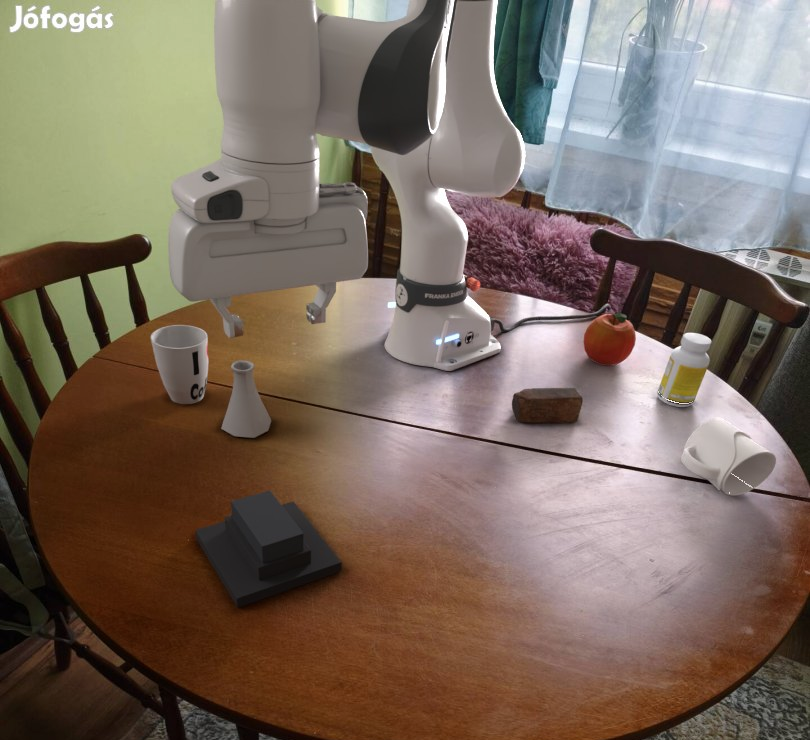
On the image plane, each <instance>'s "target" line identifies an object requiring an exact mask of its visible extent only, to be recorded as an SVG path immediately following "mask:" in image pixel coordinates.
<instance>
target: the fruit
mask: <svg viewBox="0 0 810 740" xmlns="http://www.w3.org/2000/svg"><path fill="white" fill-rule="evenodd" d="M636 340H637V336H636V330H635V328H634V325H633V323H632V322H631V321H630V320H627V315H626V314H624V313H621V312H619V313H618V312H617V311H616V312H614V313H612V314H611V313H605V314H600V315H598V317H597V316H596V318H595V319H593V320H592V322H591V323H590V324H589V325H588V327H587V328H586V330H585V332H584V335H583V342H582V343H583V347H584V348H583V349H584V352H585V354H586V356H587V357H588V358H589V359H590V360H591V361H593V362H594V363H596V364H599V365H602V366H614V365H619V364H620V363H622V362H624V361H625V360H627V359H628V357H629V356H630V355H631V354H632V352H633V350H634V348H635V345H636Z"/></svg>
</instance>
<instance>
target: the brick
mask: <svg viewBox="0 0 810 740" xmlns="http://www.w3.org/2000/svg"><path fill="white" fill-rule="evenodd" d="M583 403H584V397H583V396H582V395H581V393H580V392H579V390H578V389H577V388H576V387H537V388H536V387H535V388H534V387H533V388H523V389H522V390H520V391H518V392H515V393H514V394H513V395H512V399H511V409H512V414H513V416H514V419H515V421H516V422H519V423H523V424H567V423H576V422H578V420H579V418H580V413H581V411H582V406H583Z"/></svg>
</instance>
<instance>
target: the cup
mask: <svg viewBox="0 0 810 740" xmlns="http://www.w3.org/2000/svg"><path fill="white" fill-rule="evenodd" d="M208 337H209V336H208V333H207V332H206V331H205V330H203V328H200V327H197V326H193V325H186V324H172V325H167V326H163V327H160V328H157V329H156V330H154V331H153V332H152V333H151V334H150V342H151V346H152V350H153V355H154V359H155V364H156V367H157V370H158V372H159V375H160V376H159V377H160V380H161V381H162V385H163V386H164V388H165V390H166V392H167V394H168V396H169V399H170V400H171V401H172V402H173V403H176V404H179V405H193V404H197V403H199V402H201V401H202V400H203V399H204V396H205V392H206V387H207V383H208V375H209V374H208V373H209V340H208V339H209V338H208Z"/></svg>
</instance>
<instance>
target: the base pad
mask: <svg viewBox="0 0 810 740" xmlns="http://www.w3.org/2000/svg"><path fill="white" fill-rule="evenodd" d="M281 505H282V506H283V508H284V509H285V510H286V512H287V513H288V514H289V515H290V517H291V518H292V519H293V521H294V522H295V523H296V524H297V526H298V527H299V528H300V530H301V531H302V532H303V540H304V542H305V543H306V544H307V546H308V547H309V548H310V550H311V563H310V564H307V565H304V566H301V567H298V568H295V569H292V570H289V571H286V572H283V573H280V574H277V575H274V576H271V577H269V578H266V579H263V580H259V579H258V578H257V576H256V575H255V573H254V572H253V570H252V569H251V567H250V566H249V564H248V563H247V561H246V560H245V558H244V557H243V555H242V553H241V552H240V550H239V549H238V547H237V546H236V544H235V543H234V541H233V540H232V538H231V537H230V535H229V534H228V532H227V531H226V527H225V520H224V521H221V522H218V523H214V524H210V525H207V526H204V527H200V528H197V529H195V530H194V532H195V539H196V541H197V543H198V544H199V546H200V548H201V550H202V551H203V553H204V554H205V556H206V559H208V561H209V563H210V564H211V566H212V568H213V570H214V571H215V573H216V574H217V576H218V578H219V579H220V581H221V583H222V584H223V586H224V588H225V589H226V591H227V592H228V594H229V596H230V598H231V600H232V601H233V603H234V604H235V606H236V607H237V609H239V608H242V607H245V606H247V605H250V604H253V603H256V602H258V601H261V600H264V599H267V598H270V597H273V596H275V595H278V594H281V593H284V592H287V591H289V590H290V591H291V590H292V589H295V588H298V587H301V586H303V585H307V584H310V583H313V582H316V581H319V580H322V579H323V578H326V577H327V578H328V577H330V576H332V575H334V574H335V575H336V574H337V573H340V572H342V569H343V568H342V565H343V564H342V563H343V562H342V560H341V559H340V558H339V556H337V554H336V553H335V551H333V549H332V548H331V546H329V544H328V543H327V542H326V540H325V539H324V538H323V537H322V535H321V534H320V533H319V532H318V530H317V529H316V528H315V527H314V525H313V524H312V523H311V522H310V520H309V519H308V517H307V516H306V515H305V514H304V512H303V511H302V510H301V509H300V508H299V506H298V505H297V503H296V502H295V501H289V502H287V503H284V504H281Z"/></svg>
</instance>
